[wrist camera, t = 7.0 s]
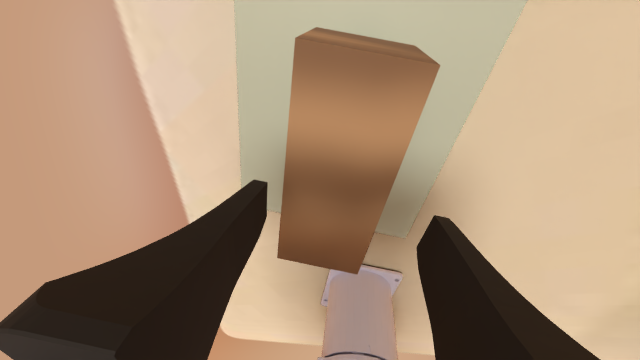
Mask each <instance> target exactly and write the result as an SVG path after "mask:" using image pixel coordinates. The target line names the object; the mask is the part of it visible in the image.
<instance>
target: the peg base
mask: <svg viewBox="0 0 640 360" xmlns="http://www.w3.org/2000/svg"><path fill="white" fill-rule="evenodd" d="M527 1H528V0H234V12H235V38H236V64H237V89H238V115H239V141H240V166H241V189H242V188H243V187H244V186H245V185H247V184H248V183H249V182H251V181H252V180H259V181H264V182H268V187H267V210H268V211H273V212H278V213H281V206H282V194H283V182H284V169H285V157H286V145H287V132H288V120H289V108H290V95H291V83H292V70H293V58H294V46H295V38H296V37H298V36H300V35H302V34H304V33H306V32H307V31H309V30H311V29H313V28H315V27H319V28H324V29H330V30H335V31H340V32H346V33H351V34H356V35H362V36H367V37H372V38H378V39H383V40H388V41H394V42H399V43H405V44H410V45H415V46H416V47H418V48H419V49H420V50H422V51H423V52H424V53H425V54H427V55H428V56H429V57H431V58H432V59H433V60H435V61H436V62H437V63H438V64H440V68H439V70H438V73H437V76H436V78H435V81H434V83H433V86H432V88H431V91H430V93H429V96H428V98H427V101H426V103H425V106H424V108H423V111H422V113H421V116H420V118H419V121H418V123H417V126H416V128H415V131H414V133H413V136H412V139H411V141H410V144H409V146H408V149H407V151H406V154H405V156H404V159H403V161H402V164H401V166H400V169H399V171H398V174H397V176H396V179H395V181H394V184H393V186H392V189H391V191H390V194H389V196H388V199H387V202H386V204H385V207H384V209H383V212H382V214H381V217H380V219H379V222H378V224H377V227H376V229H375V233H380V234H385V235H390V236H395V237H400V238H404V239H406V237H407V235H408V233H409V231H410V229H411V227H412V225H413V223H414V221H415V219H416V217H417V215H418V213H419V211H420V209H421V207H422V205H423V203H424V201H425V200H426V198H427V196H428V194H429V192H430V190H431V188H432V186H433V184H434V182H435V180H436V178H437V176H438V174H439V172H440V170H441V168H442V166H443V164H444V162H445V161H446V159H447V157H448V155H449V153H450V151H451V149H452V147H453V145H454V143H455V141H456V139H457V137H458V135H459V133H460V131H461V129H462V127H463V125H464V123H465V122H466V120H467V118H468V116H469V114H470V112H471V110H472V108H473V106H474V104H475V102H476V100H477V98H478V96H479V94H480V92H481V90H482V88H483V86H484V84H485V82H486V81H487V79H488V77H489V75H490V73H491V71H492V69H493V67H494V65H495V63H496V61H497V59H498V57H499V55H500V53H501V51H502V49H503V47H504V45H505V43H506V42H507V40H508V38H509V36H510V34H511V32H512V30H513V28H514V26H515V24H516V22H517V20H518V18H519V16H520V14H521V12H522V10H523V8H524V6H525V4H526V3H527Z"/></svg>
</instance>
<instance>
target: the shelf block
mask: <svg viewBox="0 0 640 360" xmlns="http://www.w3.org/2000/svg"><path fill="white" fill-rule="evenodd" d="M439 68H440V64H438V63H437V62H436V61H435V60H433V59H432V58H431V57H429V56H428V55H427V54H425V53H424V52H423V51H422V50H420V49H419V48H418V47H416V46H415V45H410V44H405V43H399V42H394V41H388V40H383V39H378V38H372V37H367V36H362V35H356V34H351V33H346V32H340V31H335V30H330V29H324V28H319V27H315V28H313V29H311V30H309V31H307V32H306V33H304V34H302V35H300V36H298V37H296V38H295V46H294V58H293V70H292V83H291V95H290V108H289V120H288V132H287V145H286V157H285V169H284V182H283V194H282V206H281V219H280V231H279V243H278V256H277V258H280V259H285V260H290V261H295V262H299V263H304V264H309V265H314V266H318V267H323V268H328V269H333V270H338V271H342V272H347V273H352V274H357V275H358V272H359V270H360V267H361V264H362V262H363V259H364V257H365V254H366V252H367V249H368V247H369V244H370V242H371V239H372V237H373V234H374V232H375V229H376V227H377V224H378V222H379V219H380V217H381V214H382V212H383V209H384V207H385V204H386V202H387V199H388V196H389V194H390V191H391V189H392V186H393V184H394V181H395V179H396V176H397V174H398V171H399V169H400V166H401V164H402V161H403V159H404V156H405V154H406V151H407V149H408V146H409V144H410V141H411V139H412V136H413V133H414V131H415V128H416V126H417V123H418V121H419V118H420V116H421V113H422V111H423V108H424V106H425V103H426V101H427V98H428V96H429V93H430V91H431V88H432V86H433V83H434V81H435V78H436V76H437V73H438V70H439Z"/></svg>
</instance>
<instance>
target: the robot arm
mask: <svg viewBox="0 0 640 360" xmlns="http://www.w3.org/2000/svg"><path fill="white" fill-rule="evenodd" d="M267 187H268V182H264V181H259V180H252V181H251V182H249V183H248V184H247V185H245V186H244V187H243V188H242V189H240V190H239V191H238V192H236V193H235V194H234V195H232V196H231V197H230V198H228V199H227V200H225V201H224V202H223V203H221V204H220V205H219V206H217V207H216V208H214V209H213V210H211V211H210V212H208V213H207V214H205V215H203V216H202V217H200V218H199V219H197V220H196V221H194V222H192V223H191V224H189V225H187V226H186V227H184V228H182V229H180V230H178V231H176V232H174V233H172V234H170V235H169V236H167V237H164V238H162V239H160V240H158V241H156V242H154V243H151V244H149V245H147V246H145V247H143V248H141V249H138V250H136V251H134V252H131V253H129V254H126V255H124V256H121V257H119V258H116V259H114V260H111V261H109V262H106V263H103V264H100V265H98V266H95V267H92V268H89V269H86V270H83V271H80V272H77V273H74V274H71V275H68V276H65V277H62V278H59V279H56V280H53V281H49V282H46V283H45V284H44V285H43V286H41V287H40V288H39V289H38V290H37V291H36V292H34V293H33V294H32V295H31V296H30V297H29V298H28V299H26V300H25V301H24V302H23V303H22V304H21V305H20V306H18V307H17V308H16V309H15V310H14V311H13V312H12V313H11V314H9V315H8V316H7V317H6V318H5V319H4V320H2V321H1V322H0V350H1V351H2V352H4V353H5V354H7V355H8V356H9V357H11V358H12V359H14V360H207V359H208V356H209V353H210V350H211V348H212V345H213V342H214V339H215V336H216V334H217V331H218V328H219V326H220V323H221V320H222V318H223V315H224V312H225V310H226V307H227V305H228V302H229V299H230V297H231V294H232V292H233V289H234V287H235V285H236V283H237V281H238V279H239V277H240V275H241V273H242V271H243V269H244V267H245V265H246V263H247V261H248V259H249V257H250V255H251V253H252V251H253V249H254V247H255V245H256V243H257V241H258V239H259V237H260V234H261V231H262V228H263V226H264V223H265V220H266V217H267ZM417 260H418V270H419V274H420V279H421V284H422V288H423V293H424V297H425V301H426V306H427V310H428V314H429V319H430V323H431V329H432V334H433V342H434V350H435V358H436V360H600V359H599V358H597V357H596V356H595V355H593V354H592V353H591V352H589V351H588V350H587V349H585V348H584V347H583V346H581V345H580V344H579V343H578V342H576V341H575V340H574V339H573V338H571V337H570V336H569V335H568V334H566V333H565V332H564V331H563V330H561V329H560V328H559V327H558V326H556V325H555V324H554V323H553V322H552V321H550V320H549V319H548V318H547V317H546V316H544V315H543V314H542V313H541V312H540V311H539V310H538V309H536V308H535V307H534V306H533V305H532V304H531V303H530V302H529V301H528V300H526V299H525V298H524V297H523V296H522V295H521V294H520V293H519V292H518V291H517V290H516V289H515V288H514V287H513V286H512V285H511V284H510V283H509V282H508V281H507V280H506V279H505V278H504V277H503V276H502V275H501V274H500V273H499V272H498V271H497V270H496V269H495V268H494V267H493V266H492V265H491V264H490V263H489V262H488V261H487V260H486V259H485V258H484V256H483V255H482V254H481V253H480V252H479V251H478V250H477V249H476V248H475V246H474V245H473V244H472V243H471V242H470V241H469V240H468V239H467V237H466V236H465V235H464V234H463V233H462V232H461V231H460V230H459V228H458V227H457V226H456V225H455V224H454V223H453V222H452V221H451V220H450V219H449V218H445V217H440V216H435V215H434V217H433V219H432V220H431V222H430V224H429V226H428V228H427V229H426V231H425V233H424V235H423V237H422V238H421V240H420V242H419V244H418V246H417ZM402 278H403V275H402V273H400V272H395V271H390V270H386V269H381V268H376V267H371V266H366V265H362V264H361V267H360V270H359V272H358V275H357V274H352V273H347V272H342V271H338V270H333V269H330V271H329V275H328V278H327V282H326V285H325V289H324V292H323V296H322V299H321V305H322V306H326V307H327V314H326V323H325V332H324V341H323V350H322V357H318V358H317V360H398V354H397V344H396V334H395V325H394V315H393V305H392V296H393V294H394V292H395V291H396V289H397V287H398V285H399V284H400V282H401V280H402Z"/></svg>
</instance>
